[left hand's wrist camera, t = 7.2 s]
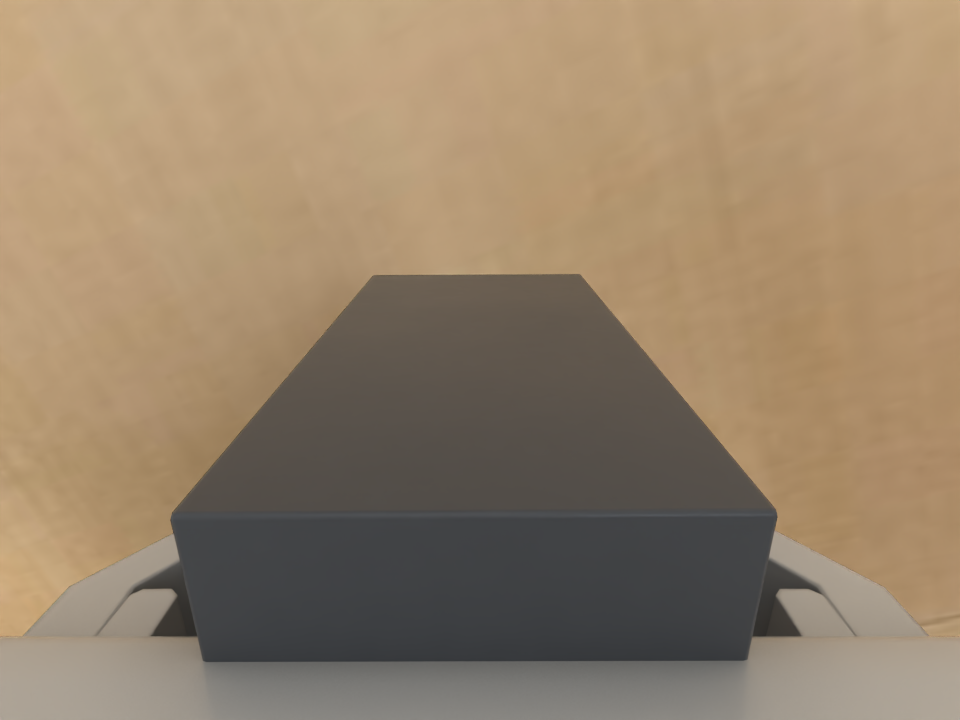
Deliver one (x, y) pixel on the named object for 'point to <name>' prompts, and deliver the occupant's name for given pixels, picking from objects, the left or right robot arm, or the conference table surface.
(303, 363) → the bar
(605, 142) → the conference table surface
